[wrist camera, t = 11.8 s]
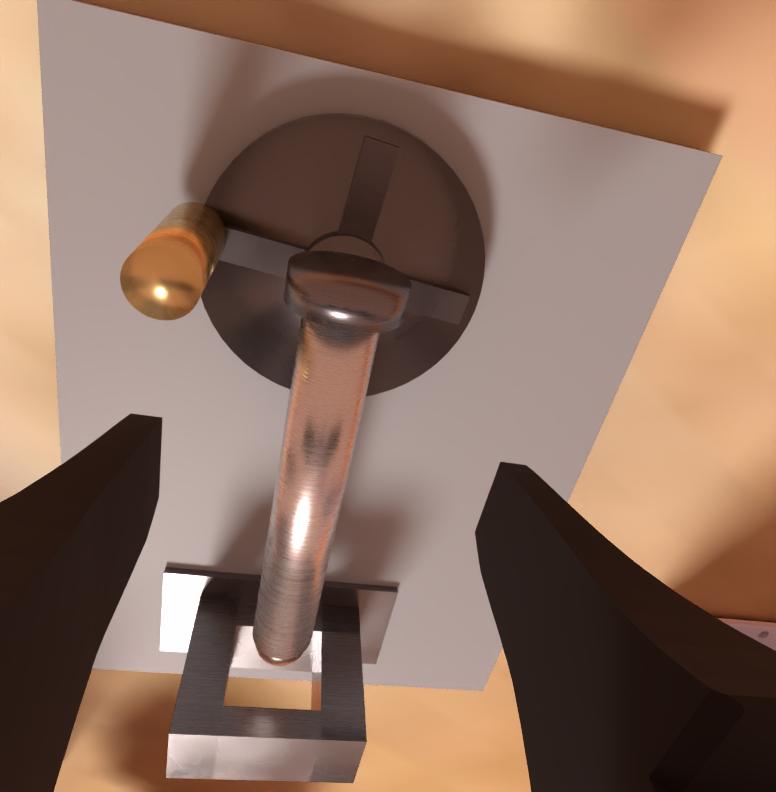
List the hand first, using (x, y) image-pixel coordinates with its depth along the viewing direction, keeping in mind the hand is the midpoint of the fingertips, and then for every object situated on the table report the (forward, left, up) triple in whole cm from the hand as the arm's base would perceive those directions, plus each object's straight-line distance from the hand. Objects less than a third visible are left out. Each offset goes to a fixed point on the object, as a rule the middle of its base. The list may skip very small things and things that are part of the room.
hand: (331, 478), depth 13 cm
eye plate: (0, +12, -7) cm, 14 cm away
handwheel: (+1, -3, -7) cm, 7 cm away
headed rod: (0, +4, -5) cm, 6 cm away
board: (-1, +4, -8) cm, 9 cm away
